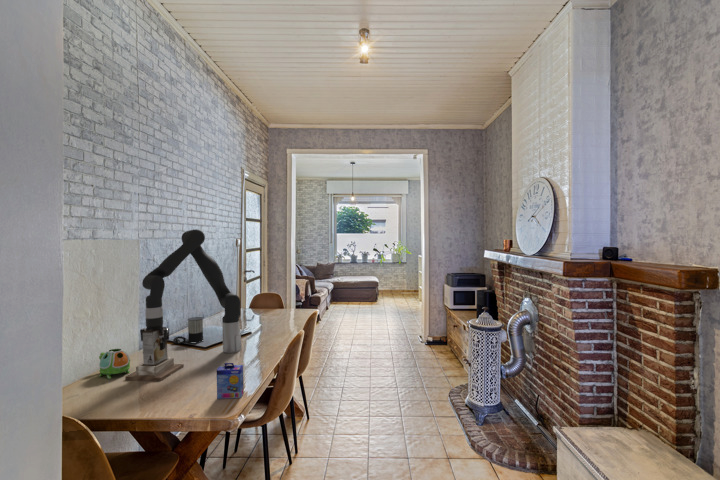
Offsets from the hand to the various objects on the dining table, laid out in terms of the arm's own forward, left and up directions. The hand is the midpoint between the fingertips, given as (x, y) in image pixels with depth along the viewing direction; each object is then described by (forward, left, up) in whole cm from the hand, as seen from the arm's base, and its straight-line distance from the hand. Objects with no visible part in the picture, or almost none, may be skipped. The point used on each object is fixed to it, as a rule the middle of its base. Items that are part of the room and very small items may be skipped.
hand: (155, 349), depth 183 cm
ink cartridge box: (-49, +22, -12) cm, 55 cm away
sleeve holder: (0, 0, -12) cm, 12 cm away
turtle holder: (+21, +2, -12) cm, 24 cm away
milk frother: (+14, -51, -12) cm, 54 cm away
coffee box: (0, 0, -6) cm, 6 cm away
